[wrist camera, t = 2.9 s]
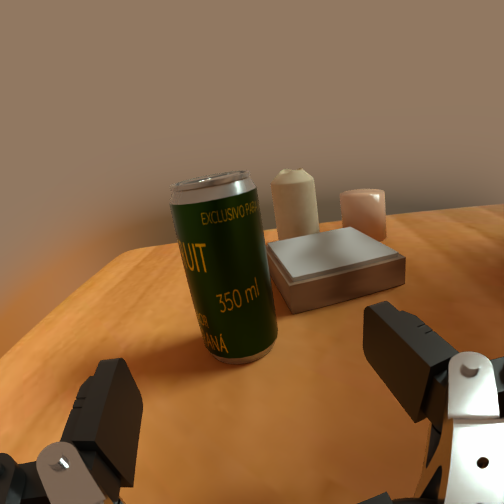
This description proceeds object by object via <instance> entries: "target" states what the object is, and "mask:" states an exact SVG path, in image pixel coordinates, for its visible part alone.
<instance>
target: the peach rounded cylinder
mask: <svg viewBox="0 0 504 504" xmlns="http://www.w3.org/2000/svg"><path fill="white" fill-rule="evenodd" d="M340 203H341V214H342V226H343V228H346V227H352V228H354V229H356V230H358V231H360V232H362V233H363V234H365V235H367V236H369V237H371V238H373V239H375V240H376V241H378V242H380V241H383V240H384V239H385V238H386V210H385V194H384V191H382V190H378V189H356V190H349V191H345V192H342V193H340Z"/></svg>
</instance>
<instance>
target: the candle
mask: <svg viewBox="0 0 504 504" xmlns="http://www.w3.org/2000/svg"><path fill="white" fill-rule="evenodd" d="M271 189H272V197H273V204H274V211H275V218H276V224H277V232H278V239H279V241H281V240H286V239H291V238H296V237H301V236H306V235H311V234H316V233H320V231H319V222H318V212H317V204H316V194H315V185H314V179H313V177H311V176H310V175H309V174H308V173H306V172H305V171H304V170H303V169H302V168H299V169H297V170H290V169H284V170H282V171H281V172H280V173H279V174H278V175H277V176H276V177H275V178H274V179H273V181H272V182H271Z"/></svg>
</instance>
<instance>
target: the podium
mask: <svg viewBox="0 0 504 504" xmlns="http://www.w3.org/2000/svg"><path fill="white" fill-rule="evenodd" d="M266 252H267V259H268V266H269V272H270V275H271V277H272V279H273V281H274V282H275V284H276V286H277V288H278V289H279V291H280V293H281V295H282V296H283V298H284V300H285V302H286V303H287V305H288V307H289V309H290V310H291V312H292V314H296V313H300V312H304V311H308V310H312V309H316V308H320V307H324V306H328V305H331V304H335V303H339V302H343V301H346V300H350V299H354V298H357V297H361V296H364V295H368V294H371V293H375V292H378V291H382V290H385V289H388V288H392V287H395V286H398V285H402V284H405V263H406V257H404V256H402V255H401V254H399V253H398V252H396V251H395V250H393V249H391V248H389V247H387V246H386V245H384V244H382V243H380V242H378V241H376V240H375V239H373V238H371V237H369V236H367V235H365V234H363V233H362V232H360V231H358V230H356V229H354V228H352V227H346V228H341V229H336V230H331V231H326V232H321V233H316V234H311V235H306V236H301V237H296V238H291V239H286V240H281V241H276V242H271V243H268V245H266Z"/></svg>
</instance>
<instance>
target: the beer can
mask: <svg viewBox="0 0 504 504" xmlns="http://www.w3.org/2000/svg"><path fill="white" fill-rule="evenodd" d="M249 176H250V171H248V170H242V171H233V172H225V173H219V174H213V175H208V176H204V177H198V178H194V179H190V180H186V181H182V182H179V183H175V184H173V185H171V186H170V189H171V191H173V192H172V196H171V200H170V208H171V213H172V218H173V222H174V227H175V231H176V235H177V240H178V244H179V248H180V253H181V257H182V261H183V265H184V269H185V273H186V277H187V281H188V285H189V289H190V293H191V297H192V300H193V304H194V308H195V312H196V315H197V319H198V322H199V326H200V330H201V333H202V337H203V340H204V344H205V347H206V348H207V349H208V351H209V352H210V353H211V354H212V355H213V356H214V357H215V358H216V359H218V360H220V361H221V362H224V363H229V364H244V363H248V362H253V361H255V360H257V359H260V358H262V357H264V356H265V355H266V354H267V353H269V352H270V351H271V349H272V348H273V346H274V344H275V341H276V339H277V334H278V328H277V321H276V314H275V307H274V300H273V293H272V286H271V279H270V272H269V266H268V259H267V252H266V246H265V239H264V233H263V226H262V220H261V213H260V207H259V200H258V194H257V188H256V185H255V184H254V182H253V181H252V180H251V178H250V177H249Z"/></svg>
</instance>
